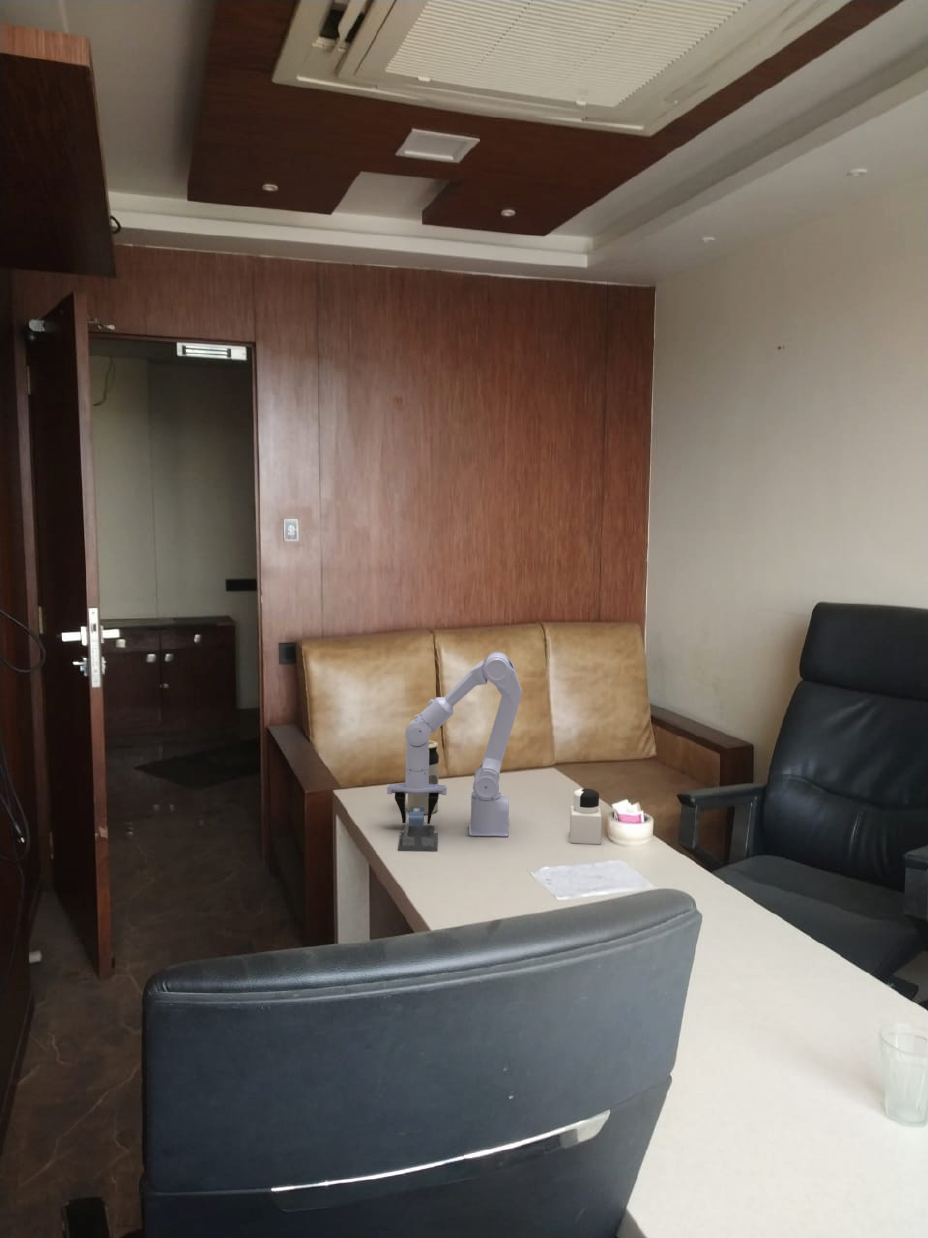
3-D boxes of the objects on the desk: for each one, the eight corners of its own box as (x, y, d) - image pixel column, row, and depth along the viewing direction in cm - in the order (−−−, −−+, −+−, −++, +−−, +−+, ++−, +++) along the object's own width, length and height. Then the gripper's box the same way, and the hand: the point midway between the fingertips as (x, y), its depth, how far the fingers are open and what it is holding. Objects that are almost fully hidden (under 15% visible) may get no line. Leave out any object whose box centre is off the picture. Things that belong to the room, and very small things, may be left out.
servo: (424, 824, 220) (424, 801, 220) (423, 834, 213) (423, 811, 212) (409, 823, 220) (410, 801, 219) (408, 834, 213) (408, 810, 212)
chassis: (438, 836, 212) (438, 824, 211) (437, 851, 202) (437, 839, 201) (400, 835, 211) (401, 824, 211) (398, 850, 201) (398, 838, 201)
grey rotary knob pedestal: (598, 834, 215) (600, 787, 214) (600, 845, 208) (602, 796, 207) (569, 833, 216) (571, 785, 215) (570, 843, 209) (572, 794, 207)
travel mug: (402, 807, 232) (404, 741, 230) (430, 804, 236) (431, 738, 234) (414, 816, 225) (415, 748, 223) (442, 813, 228) (443, 745, 227)
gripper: (447, 764, 219) (445, 817, 220) (389, 763, 219) (388, 816, 220) (446, 772, 212) (445, 827, 213) (386, 771, 212) (386, 825, 213)
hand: (416, 822), depth 216 cm, fingers open, 5 cm apart
